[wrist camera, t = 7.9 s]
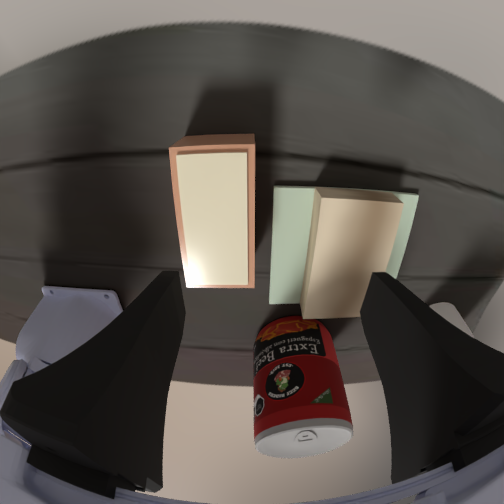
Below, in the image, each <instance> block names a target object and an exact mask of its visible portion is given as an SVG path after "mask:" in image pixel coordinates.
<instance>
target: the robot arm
mask: <svg viewBox="0 0 504 504" xmlns="http://www.w3.org/2000/svg"><path fill="white" fill-rule="evenodd" d="M42 292H43V294H44V297H43V298H42V300H41V301H40V303H39V304H38V305H37V307H36V308H35V310H34V311H33V313H32V314H31V316H30V317H29V319H28V320H27V322H26V323H25V325H24V326H23V328H22V329H21V331H20V333H19V335H18V338H17V342H16V358H17V360H14V361H13V362H12V363H11V365H10V366H9V368H8V370H7V371H6V373H5V375H4V377H3V379H2V380H1V382H0V504H208V503H197V502H188V501H181V500H174V499H167V498H162V497H157V496H152V495H147V494H142V493H138V492H135V490H138V491H142V492H145V491H149V492H154V493H155V492H157V491H159V490H160V489H161V488H163V481H162V479H163V478H162V477H163V476H162V459H163V436H164V424H165V414H166V405H167V397H168V391H169V386H170V382H171V378H172V374H173V370H174V366H175V362H176V359H177V355H178V351H179V347H180V343H181V339H182V335H183V328H184V321H185V314H186V312H185V306H184V301H183V295H182V289H181V283H180V277H179V271H162V272H161V273H160V274H159V275H158V276H157V277H156V278H155V279H154V280H153V281H152V282H151V283H150V284H149V285H148V286H147V287H146V288H145V290H144V291H143V292H142V293H141V294H140V295H139V296H138V297H137V298H136V299H135V300H134V301H133V302H132V303H131V304H130V305H129V306H128V307H127V308H126V309H125V310H124V311H123V309H122V307H121V304H120V301H119V298H118V296H117V294H116V292H114V291H112V290H97V289H81V288H67V287H54V286H43V288H42ZM107 295H108V296H107ZM360 316H361V320H362V325H363V329H364V333H365V336H366V339H367V342H368V345H369V347H370V350H371V353H372V356H373V358H374V361H375V364H376V367H377V370H378V372H379V375H380V378H381V382H382V385H383V388H384V394H385V398H386V403H387V409H388V416H389V424H390V434H391V447H392V470H391V480H392V485H388V486H385V487H381V488H377V489H374V490H370V491H366V492H361V493H357V494H352V495H348V496H343V497H337V498H332V499H325V500H318V501H311V502H302V503H291V504H390V503H393V502H396V501H399V500H402V499H405V498H407V497H411V496H413V495H416V494H418V493H419V494H418V495H417V496H416V498H415V500H414V501H413V502H412V503H410V504H504V353H502V352H500V351H497V350H495V349H493V348H491V347H489V346H487V345H485V344H483V343H482V342H480V341H478V340H476V339H475V338H473V337H471V336H470V335H468V334H466V333H465V332H463V331H462V330H460V329H459V328H457V327H456V326H454V325H453V324H451V323H450V322H449V321H447V320H446V319H445V318H443V317H442V316H441V315H439V314H438V313H437V312H435V311H434V310H433V309H432V308H430V307H429V306H428V305H427V304H425V303H424V302H423V301H422V300H421V299H419V298H418V297H417V296H416V295H415V294H413V293H412V292H411V291H410V290H409V289H407V288H406V287H405V286H404V285H403V284H401V283H400V282H399V281H398V280H396V279H395V278H394V277H392V276H391V275H390V274H388V273H387V272H372V275H371V278H370V281H369V285H368V288H367V291H366V294H365V297H364V300H363V303H362V306H361V309H360ZM8 430H9V431H10V432H12V433H13V434H15V435H16V436H18V437H19V438H21V439H22V440H24V441H25V442H27V443H28V444H30V445H31V446H30V445H28V444H27V443H25V442H23V441H22V440H20V439H19V438H17V437H16V436H14V435H13V434H11V433H10V432H9V431H8Z"/></svg>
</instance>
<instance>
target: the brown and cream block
mask: <svg viewBox="0 0 504 504" xmlns="http://www.w3.org/2000/svg"><path fill="white" fill-rule="evenodd" d="M169 155H170V166H171V176H172V186H173V195H174V204H175V212H176V220H177V227H178V235H179V242H180V249H181V255H182V262H183V268H184V274H185V280H186V286H187V287H194V288H254V266H255V138H254V134H214V135H195V136H184V137H183V138H181V139H180V140H179V141H177V142H176V143H175V144H173V145H172V146H170V147H169Z"/></svg>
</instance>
